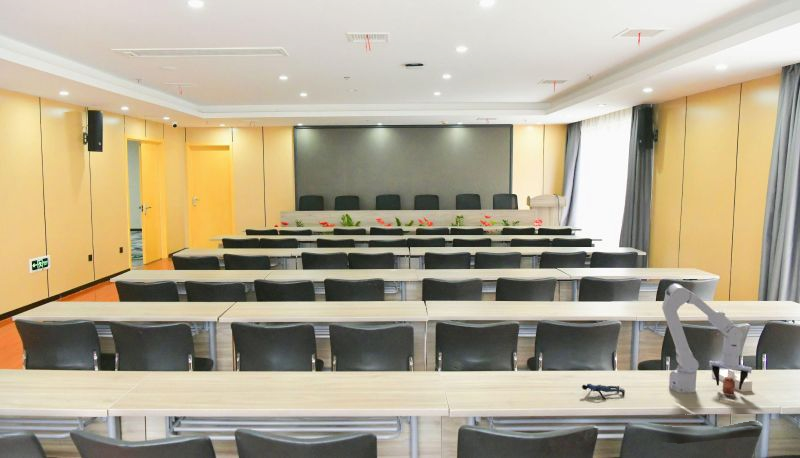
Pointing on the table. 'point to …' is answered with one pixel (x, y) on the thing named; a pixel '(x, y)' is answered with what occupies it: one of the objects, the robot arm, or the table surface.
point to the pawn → (728, 385)
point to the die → (745, 386)
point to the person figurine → (604, 389)
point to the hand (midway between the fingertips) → (728, 386)
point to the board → (727, 398)
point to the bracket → (726, 374)
